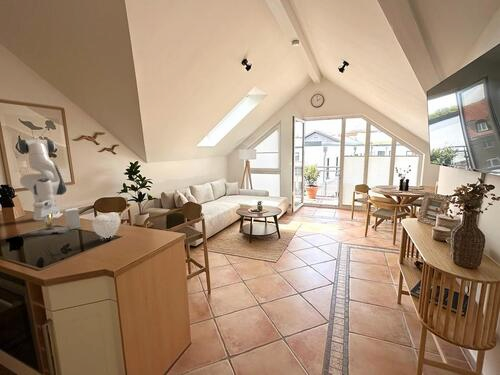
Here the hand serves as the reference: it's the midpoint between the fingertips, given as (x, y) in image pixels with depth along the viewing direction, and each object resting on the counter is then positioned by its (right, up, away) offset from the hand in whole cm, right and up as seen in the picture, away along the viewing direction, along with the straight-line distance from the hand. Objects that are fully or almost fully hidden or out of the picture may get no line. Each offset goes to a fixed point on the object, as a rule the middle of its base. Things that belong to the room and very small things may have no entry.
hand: (48, 220), depth 172 cm
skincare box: (+9, -7, +12) cm, 17 cm away
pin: (0, -4, +1) cm, 4 cm away
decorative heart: (+48, -11, -10) cm, 51 cm away
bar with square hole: (0, -9, +1) cm, 9 cm away
